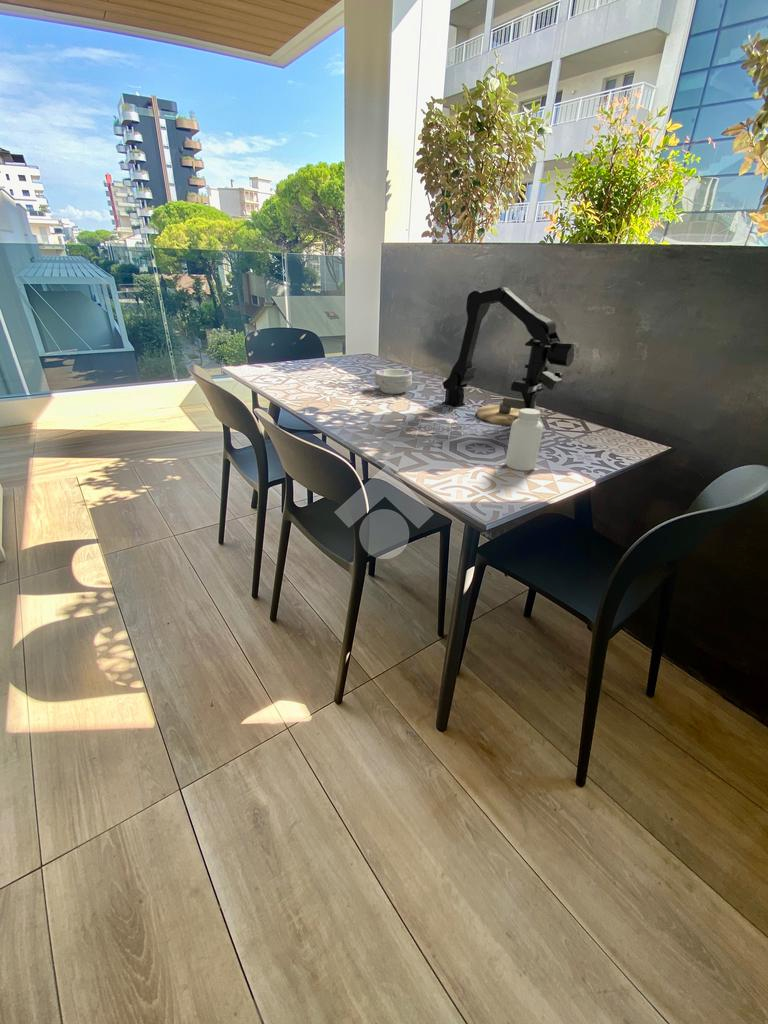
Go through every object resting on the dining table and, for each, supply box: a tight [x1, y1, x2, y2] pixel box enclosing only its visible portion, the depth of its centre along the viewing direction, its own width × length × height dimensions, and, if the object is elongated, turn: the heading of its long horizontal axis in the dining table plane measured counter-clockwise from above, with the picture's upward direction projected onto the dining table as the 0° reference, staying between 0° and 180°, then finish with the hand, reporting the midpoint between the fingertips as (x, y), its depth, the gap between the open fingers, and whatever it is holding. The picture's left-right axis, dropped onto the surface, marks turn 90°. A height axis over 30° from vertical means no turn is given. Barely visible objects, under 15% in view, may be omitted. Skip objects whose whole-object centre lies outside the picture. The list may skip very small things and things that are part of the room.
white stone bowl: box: [374, 368, 413, 395], centre depth 185 cm, size 15×15×8 cm
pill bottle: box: [505, 408, 544, 472], centre depth 117 cm, size 8×8×15 cm
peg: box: [499, 396, 546, 413], centre depth 156 cm, size 15×4×5 cm, turn 63°
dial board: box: [476, 404, 520, 426], centre depth 159 cm, size 19×19×2 cm
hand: (528, 409), depth 152 cm, fingers closed
